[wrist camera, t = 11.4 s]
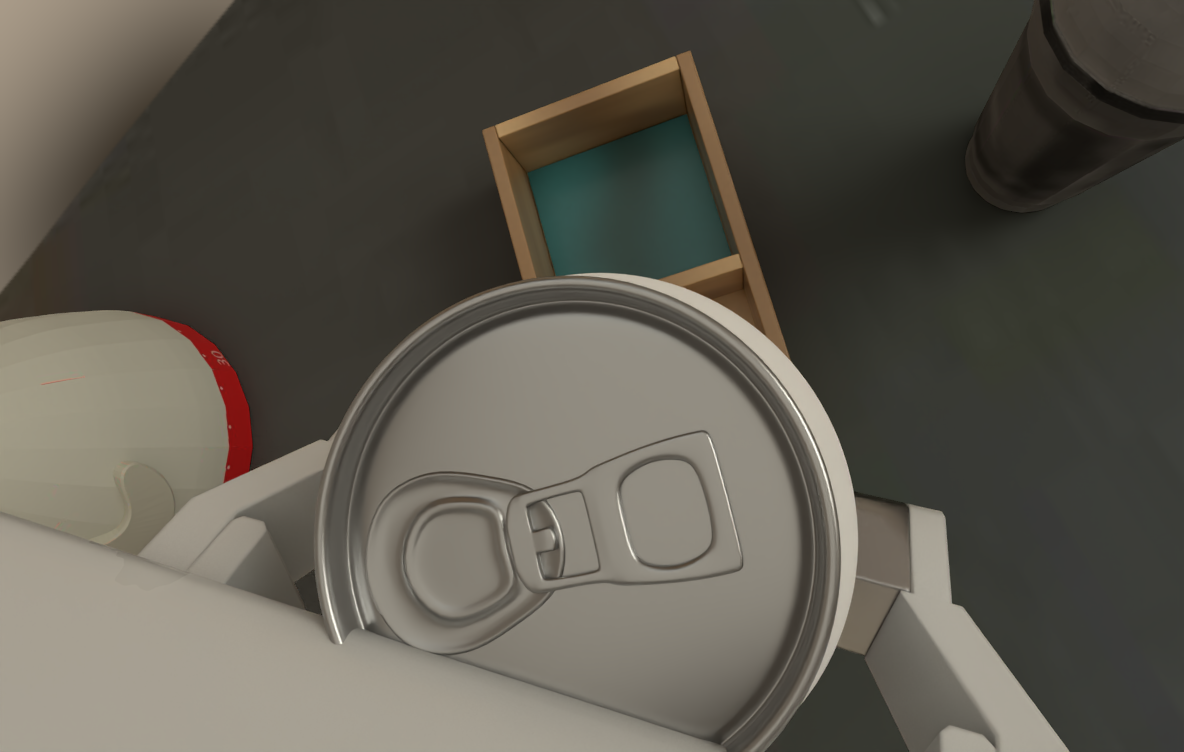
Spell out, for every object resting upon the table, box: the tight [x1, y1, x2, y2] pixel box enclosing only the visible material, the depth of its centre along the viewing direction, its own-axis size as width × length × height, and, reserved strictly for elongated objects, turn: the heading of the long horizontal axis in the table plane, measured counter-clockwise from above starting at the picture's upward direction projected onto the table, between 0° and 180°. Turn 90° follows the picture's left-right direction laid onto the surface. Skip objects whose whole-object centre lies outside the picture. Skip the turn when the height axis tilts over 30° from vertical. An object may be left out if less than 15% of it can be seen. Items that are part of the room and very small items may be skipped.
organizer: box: [482, 51, 791, 361], centre depth 30 cm, size 9×17×5 cm, turn 16°
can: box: [314, 273, 858, 752], centre depth 13 cm, size 6×6×12 cm
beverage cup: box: [965, 0, 1184, 213], centre depth 19 cm, size 7×7×20 cm
